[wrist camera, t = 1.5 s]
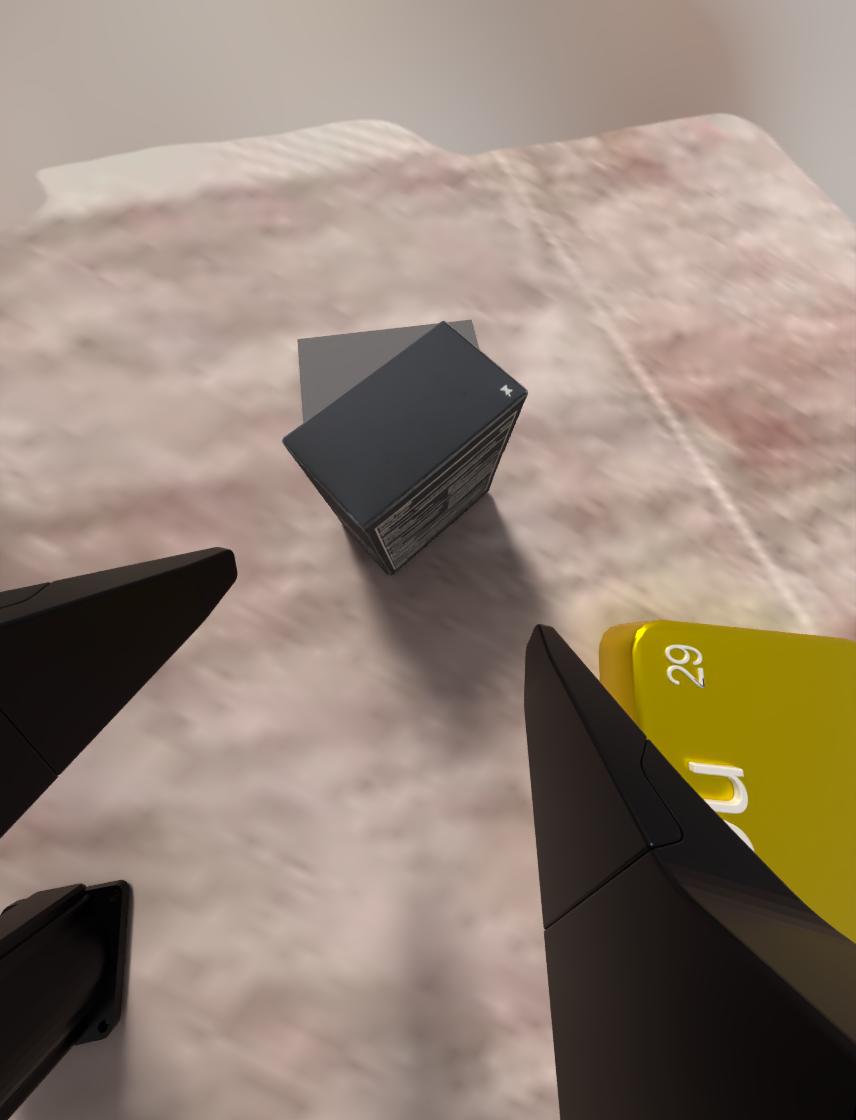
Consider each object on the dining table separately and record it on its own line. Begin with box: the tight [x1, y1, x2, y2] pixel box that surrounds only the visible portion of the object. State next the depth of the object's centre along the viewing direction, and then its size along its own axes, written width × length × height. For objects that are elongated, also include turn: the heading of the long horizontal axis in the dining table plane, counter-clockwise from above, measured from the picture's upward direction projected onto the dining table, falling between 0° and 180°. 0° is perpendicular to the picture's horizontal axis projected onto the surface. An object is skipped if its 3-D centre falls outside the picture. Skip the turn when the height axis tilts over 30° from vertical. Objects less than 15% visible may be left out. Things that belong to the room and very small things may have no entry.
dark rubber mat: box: [298, 320, 479, 423], centre depth 28 cm, size 13×16×1 cm
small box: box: [282, 321, 528, 575], centre depth 20 cm, size 11×6×10 cm, turn 133°
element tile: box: [599, 620, 856, 943], centre depth 19 cm, size 15×15×5 cm
